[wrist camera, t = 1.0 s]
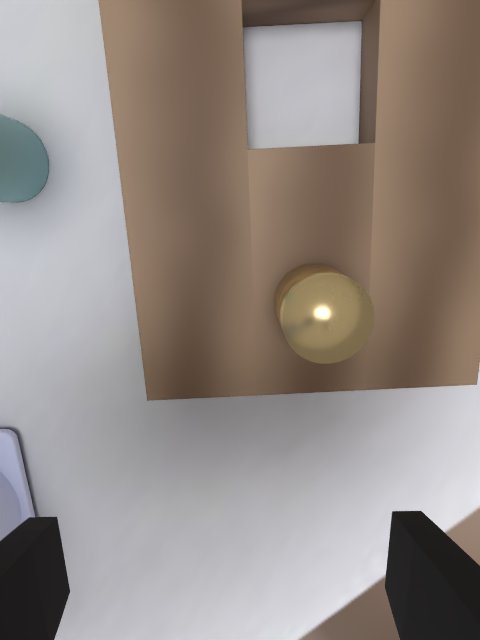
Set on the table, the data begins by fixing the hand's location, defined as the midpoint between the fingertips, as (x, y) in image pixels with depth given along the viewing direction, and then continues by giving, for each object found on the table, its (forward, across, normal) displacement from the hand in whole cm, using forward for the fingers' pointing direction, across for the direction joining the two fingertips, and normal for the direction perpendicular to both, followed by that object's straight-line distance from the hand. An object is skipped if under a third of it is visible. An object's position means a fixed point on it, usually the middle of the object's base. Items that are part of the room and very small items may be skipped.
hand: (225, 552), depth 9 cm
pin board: (+10, -3, -9) cm, 14 cm away
